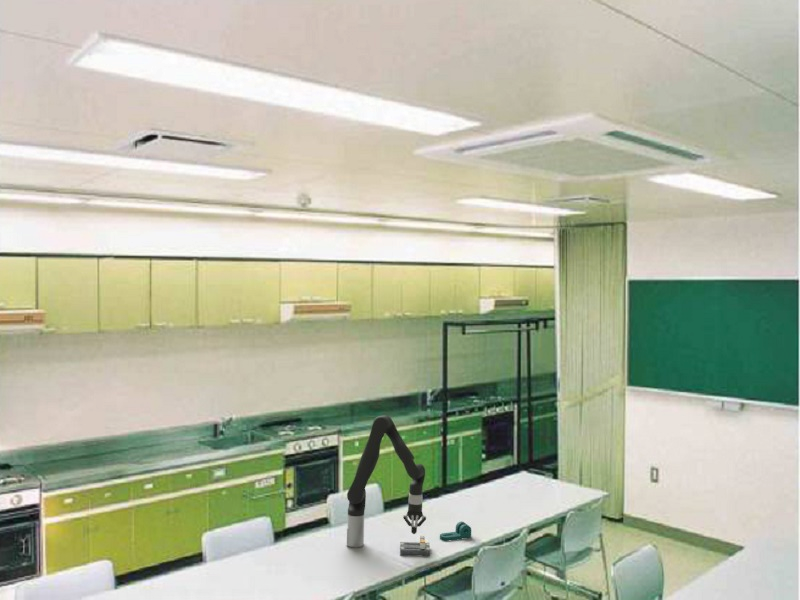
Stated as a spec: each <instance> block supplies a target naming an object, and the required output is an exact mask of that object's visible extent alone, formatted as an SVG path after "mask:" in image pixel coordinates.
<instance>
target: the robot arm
mask: <svg viewBox="0 0 800 600" xmlns="http://www.w3.org/2000/svg"><path fill="white" fill-rule="evenodd" d="M370 429H371V430H370V433H369V437H368V439H367V442H366V444H365V446H364V449H363V452H362V453H361V456H360V459H359V462H358V465H357V469H356V473H355V475H354V478H353V480H352V483H351V485H350V487H349V489H348V490H347V494H346V498H347V501H349V502H348V508H347V528H346V546H347V547H351V548H361V547H363V546H364V545H365V543H364V542H365V540H364V539H365V510H366V500H367V499H366V498H367V496H366V494H367V492H366V487H367V484H368V482H369V479H370V478H371V476H372V474H373V472H374V470H375V468H376V466H377V465H378V464H377V463H378V461H379V458H380V451H381V449H380V448H381V444H382V443H381V442H382V440H383V438H384V436H385V435H386V436H387V438H388V439H389V440H390V441H391V444H392V446H393V449H394V451H395V454H396V455H397V457H398V459H400V461H401V463H402V464H403V467H404V469H405V471H406V474H407V475H408V477H409V478H411V479H412V481H411V482H410V484H409V489H408V490H409V493H408V507H407V511H406V514H404V515H403V516H402V517H403V520H404V521H405V523H406V524H407V525H408V526H409V527H410V528H411V530H410V531H411V532H410V533H412V534H413V535H416V534H417V530H418V527H421V526H422V525H423V523H424V522H425V521H426V520H427V516H425V515H424V513H423V502H424V501H423V488H424V487H423V486H424V482H425V477H426V469H425V466H424V465H423V464H422V463H416V462H415V456H414V455H413V453H412V451H411V450H410V449H409V447H408V446H407V444H406V443H405V441H404V440H403V438H402V437H401V434H400V433H399V431H398V429H397V427H396V425H395V423H394V421H393V419H392V418H391V417H390V416H389V415H385V414H384V415H380V416H377V417H375V419H374V420H373V422H372V425H371V428H370Z"/></svg>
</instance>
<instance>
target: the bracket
mask: <svg viewBox="0 0 800 600" xmlns="http://www.w3.org/2000/svg"><path fill="white" fill-rule="evenodd" d="M462 538H467V539H472V527H471V526H470V525H468V524H467V523H466V522H464V521H459V522H457V523H456V525H455V531H452V532H451V531H449V532H444V533H443V532H442V533H440V534H439V540H441V541H444V542H450V541H449V540H451V541H457V539H459V540H463V539H462Z"/></svg>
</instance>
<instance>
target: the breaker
mask: <svg viewBox="0 0 800 600" xmlns="http://www.w3.org/2000/svg"><path fill="white" fill-rule="evenodd" d="M425 537H426V536H425V535H419V541H420V540H425V541H426V539H425Z"/></svg>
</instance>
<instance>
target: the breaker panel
mask: <svg viewBox="0 0 800 600" xmlns="http://www.w3.org/2000/svg"><path fill="white" fill-rule="evenodd" d="M399 543H400V544H399V545H400V546H399V547H400V548H399V550H400V551H399V556H408V555H422V556H421V557H431V548H430V547H431V545H430V542H425V549H420V542H418V541H417V542H412V541H411V542H410V541H409V542H408V541H400V542H399Z"/></svg>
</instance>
